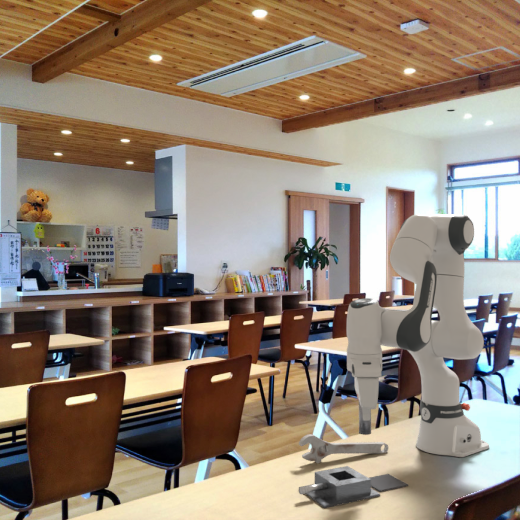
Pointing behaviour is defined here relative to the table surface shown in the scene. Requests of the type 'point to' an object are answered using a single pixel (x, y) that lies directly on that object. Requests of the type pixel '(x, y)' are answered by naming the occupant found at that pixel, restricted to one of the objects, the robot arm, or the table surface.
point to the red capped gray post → (364, 423)
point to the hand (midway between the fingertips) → (365, 416)
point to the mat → (386, 482)
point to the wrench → (337, 448)
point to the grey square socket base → (339, 487)
